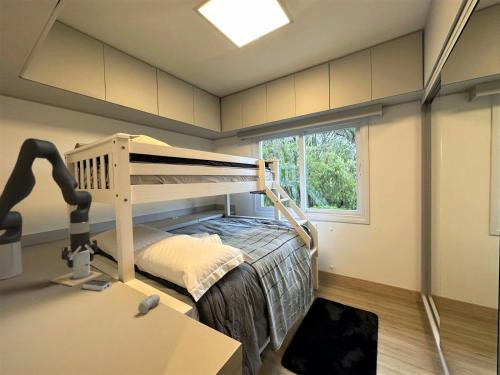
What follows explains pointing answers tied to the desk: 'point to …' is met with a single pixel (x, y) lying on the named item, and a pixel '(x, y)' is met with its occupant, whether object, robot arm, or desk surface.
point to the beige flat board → (75, 279)
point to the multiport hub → (97, 285)
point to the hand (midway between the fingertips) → (81, 264)
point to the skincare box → (81, 264)
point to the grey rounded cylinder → (148, 303)
